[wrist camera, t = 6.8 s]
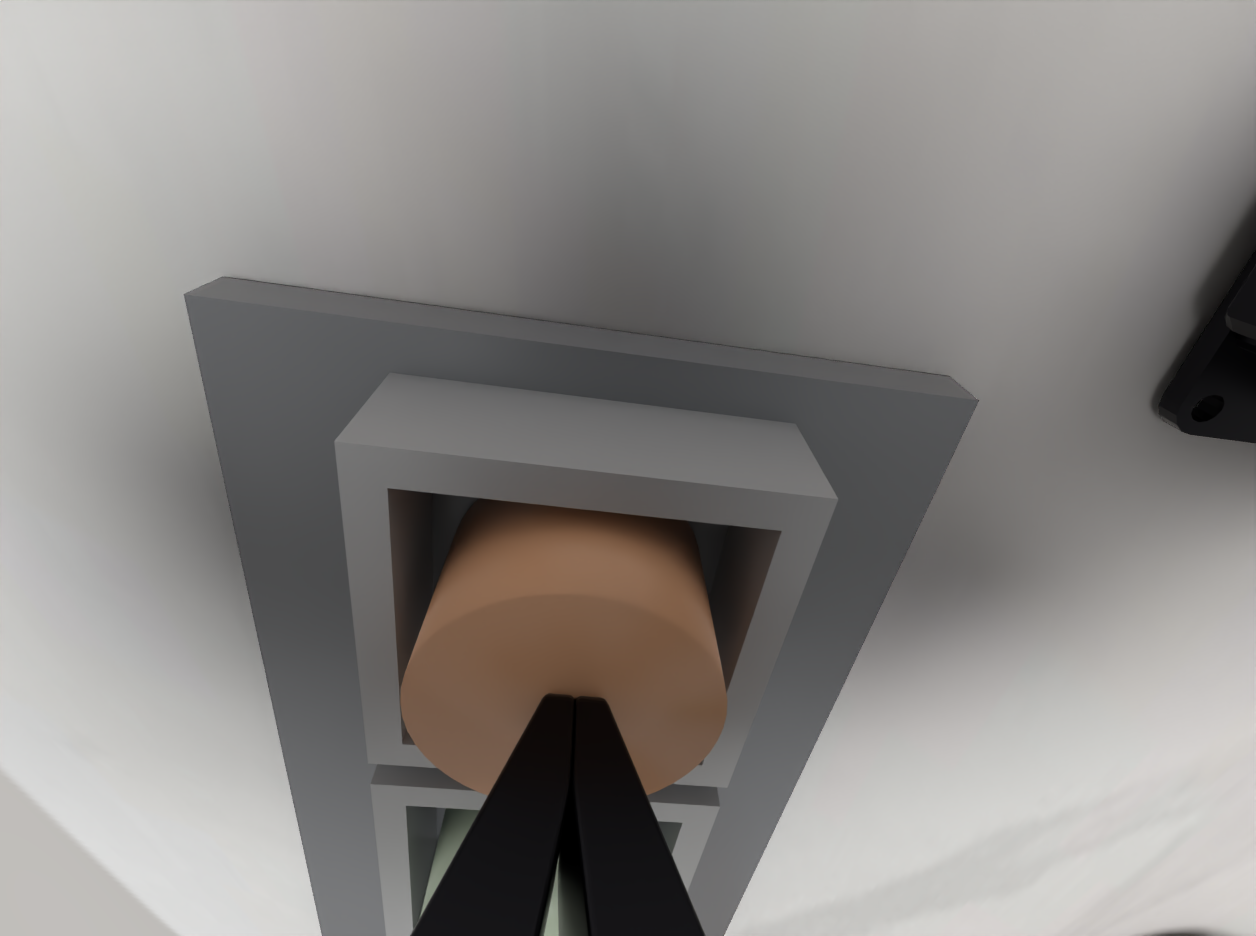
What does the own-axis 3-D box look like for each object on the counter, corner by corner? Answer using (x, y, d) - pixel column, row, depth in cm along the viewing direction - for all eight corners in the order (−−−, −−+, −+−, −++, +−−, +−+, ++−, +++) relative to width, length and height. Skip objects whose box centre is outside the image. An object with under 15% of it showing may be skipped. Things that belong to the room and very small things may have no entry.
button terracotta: (725, 480, 10) (764, 612, 8) (675, 667, 12) (692, 817, 10) (451, 449, 10) (393, 576, 7) (450, 647, 12) (406, 799, 9)
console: (949, 376, 11) (1066, 471, 8) (694, 955, 22) (706, 1078, 19) (222, 277, 10) (66, 347, 7) (342, 940, 21) (301, 1069, 18)
